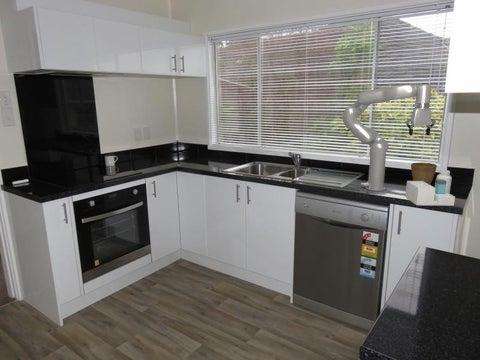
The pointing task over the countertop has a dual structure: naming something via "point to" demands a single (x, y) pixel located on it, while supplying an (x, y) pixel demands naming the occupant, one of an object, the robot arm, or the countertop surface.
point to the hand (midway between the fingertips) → (419, 135)
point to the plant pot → (423, 172)
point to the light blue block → (440, 186)
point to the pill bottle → (445, 176)
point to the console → (426, 194)
